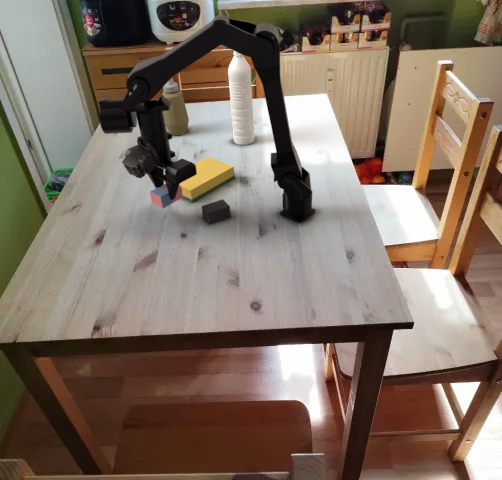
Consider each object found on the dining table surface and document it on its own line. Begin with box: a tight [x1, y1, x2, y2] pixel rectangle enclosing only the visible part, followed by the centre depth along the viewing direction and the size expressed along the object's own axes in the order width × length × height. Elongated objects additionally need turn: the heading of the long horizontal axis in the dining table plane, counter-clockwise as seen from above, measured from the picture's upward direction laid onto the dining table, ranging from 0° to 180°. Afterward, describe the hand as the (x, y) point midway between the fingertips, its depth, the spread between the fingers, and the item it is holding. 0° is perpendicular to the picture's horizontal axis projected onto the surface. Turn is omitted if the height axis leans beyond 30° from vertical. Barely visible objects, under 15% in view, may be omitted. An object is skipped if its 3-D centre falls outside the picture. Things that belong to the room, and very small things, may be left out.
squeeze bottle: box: [161, 77, 190, 136], centre depth 145 cm, size 8×8×18 cm
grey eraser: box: [201, 199, 232, 225], centre depth 113 cm, size 6×4×3 cm
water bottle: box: [227, 50, 255, 146], centre depth 135 cm, size 9×6×25 cm
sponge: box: [179, 156, 236, 203], centre depth 125 cm, size 16×10×3 cm, turn 138°
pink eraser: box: [149, 183, 184, 209], centre depth 111 cm, size 6×4×3 cm, turn 138°
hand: (167, 196), depth 111 cm, fingers closed on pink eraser, 4 cm apart
